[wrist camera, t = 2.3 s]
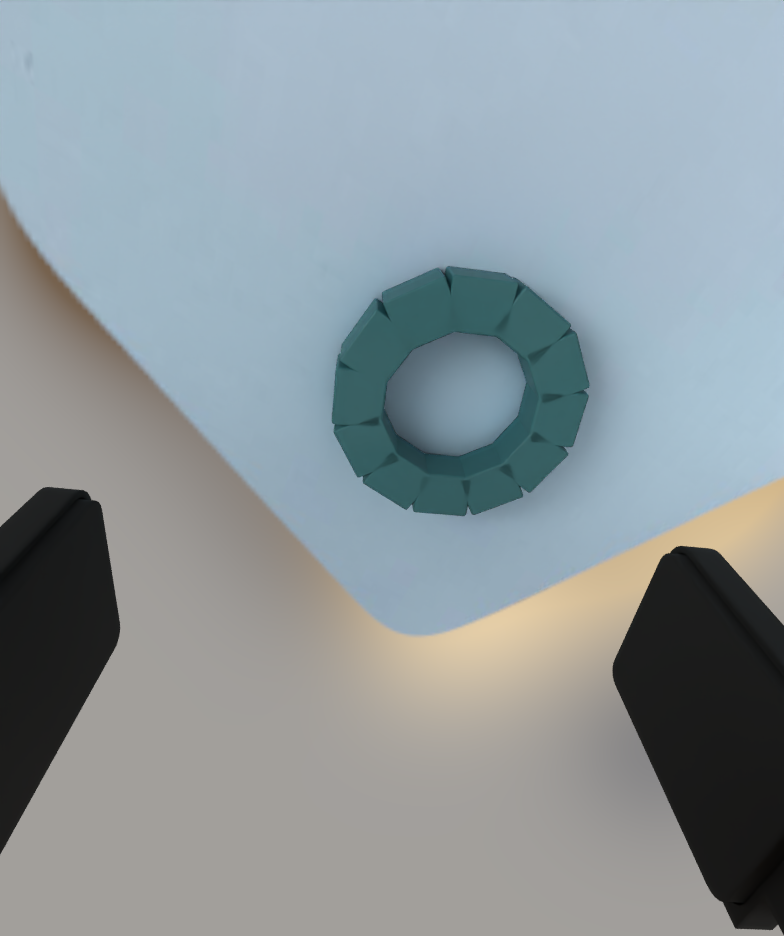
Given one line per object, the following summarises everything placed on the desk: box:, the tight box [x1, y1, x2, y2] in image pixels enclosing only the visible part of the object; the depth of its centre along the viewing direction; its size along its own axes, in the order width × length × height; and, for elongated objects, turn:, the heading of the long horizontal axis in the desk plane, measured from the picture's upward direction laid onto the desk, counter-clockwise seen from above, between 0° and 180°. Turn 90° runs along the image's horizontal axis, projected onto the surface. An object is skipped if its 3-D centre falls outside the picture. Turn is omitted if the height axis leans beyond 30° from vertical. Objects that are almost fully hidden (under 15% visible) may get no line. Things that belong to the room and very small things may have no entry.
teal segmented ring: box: [332, 266, 590, 516], centre depth 18 cm, size 8×8×2 cm
